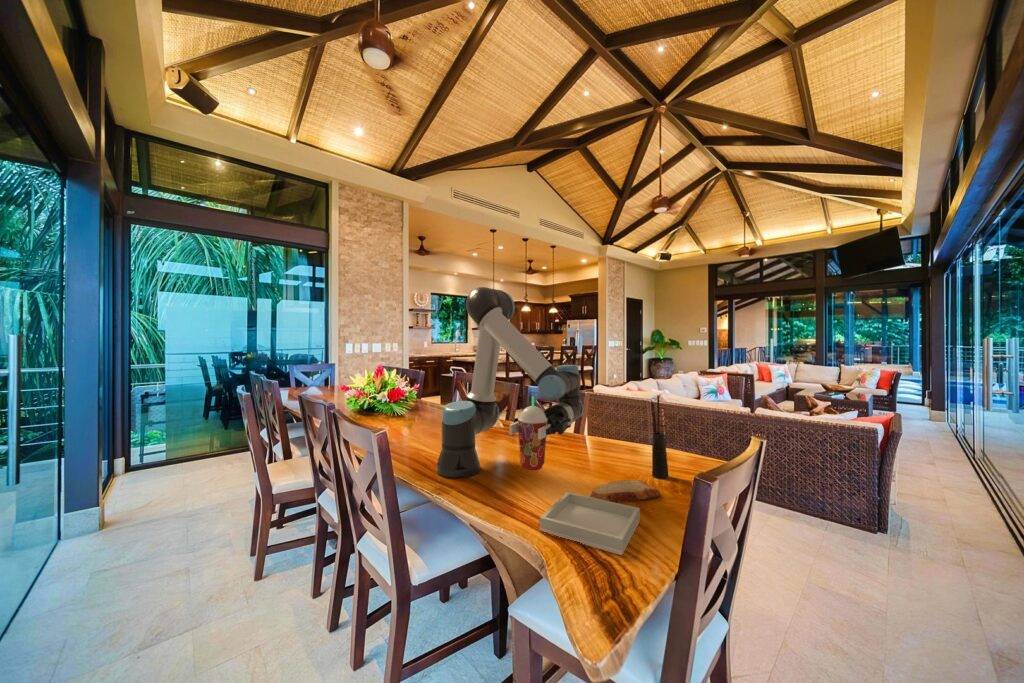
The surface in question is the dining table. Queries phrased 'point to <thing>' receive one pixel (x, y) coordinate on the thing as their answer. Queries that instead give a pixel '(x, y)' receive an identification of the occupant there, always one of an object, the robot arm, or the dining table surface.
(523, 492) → the dining table surface
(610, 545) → the tray
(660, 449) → the black vase with stems
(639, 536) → the dining table surface
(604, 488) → the slice of bread
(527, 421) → the smoothie
